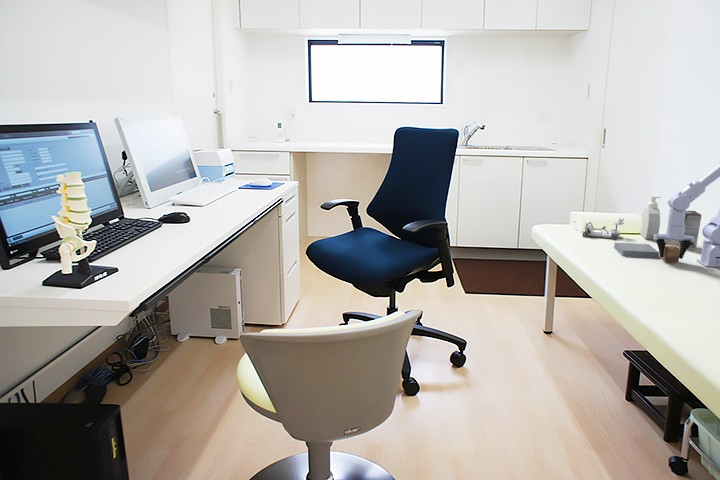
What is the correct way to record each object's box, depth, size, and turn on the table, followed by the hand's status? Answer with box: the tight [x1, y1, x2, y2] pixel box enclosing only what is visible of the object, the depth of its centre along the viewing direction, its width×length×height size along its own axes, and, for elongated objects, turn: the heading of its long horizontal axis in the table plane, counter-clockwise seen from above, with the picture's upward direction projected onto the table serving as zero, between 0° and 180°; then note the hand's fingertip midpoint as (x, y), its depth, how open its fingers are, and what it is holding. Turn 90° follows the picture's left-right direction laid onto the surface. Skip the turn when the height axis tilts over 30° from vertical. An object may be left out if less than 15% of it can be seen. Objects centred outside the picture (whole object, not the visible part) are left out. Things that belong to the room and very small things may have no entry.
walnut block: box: [662, 245, 680, 264], centre depth 229 cm, size 4×4×6 cm
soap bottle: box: [640, 195, 661, 241], centre depth 269 cm, size 16×5×20 cm, turn 165°
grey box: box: [613, 242, 660, 259], centre depth 242 cm, size 14×14×3 cm
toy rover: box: [582, 217, 625, 241], centre depth 272 cm, size 18×10×12 cm
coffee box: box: [674, 210, 702, 251], centre depth 251 cm, size 9×6×16 cm
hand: (670, 257), depth 229 cm, fingers open, 7 cm apart
